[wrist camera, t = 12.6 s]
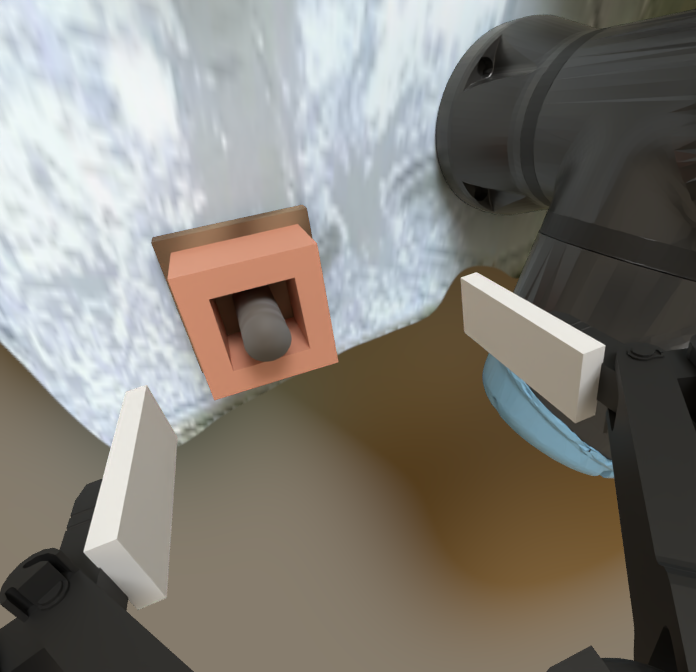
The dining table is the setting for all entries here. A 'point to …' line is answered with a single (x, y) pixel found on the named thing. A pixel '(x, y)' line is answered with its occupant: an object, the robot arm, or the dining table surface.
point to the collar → (242, 274)
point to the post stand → (253, 304)
